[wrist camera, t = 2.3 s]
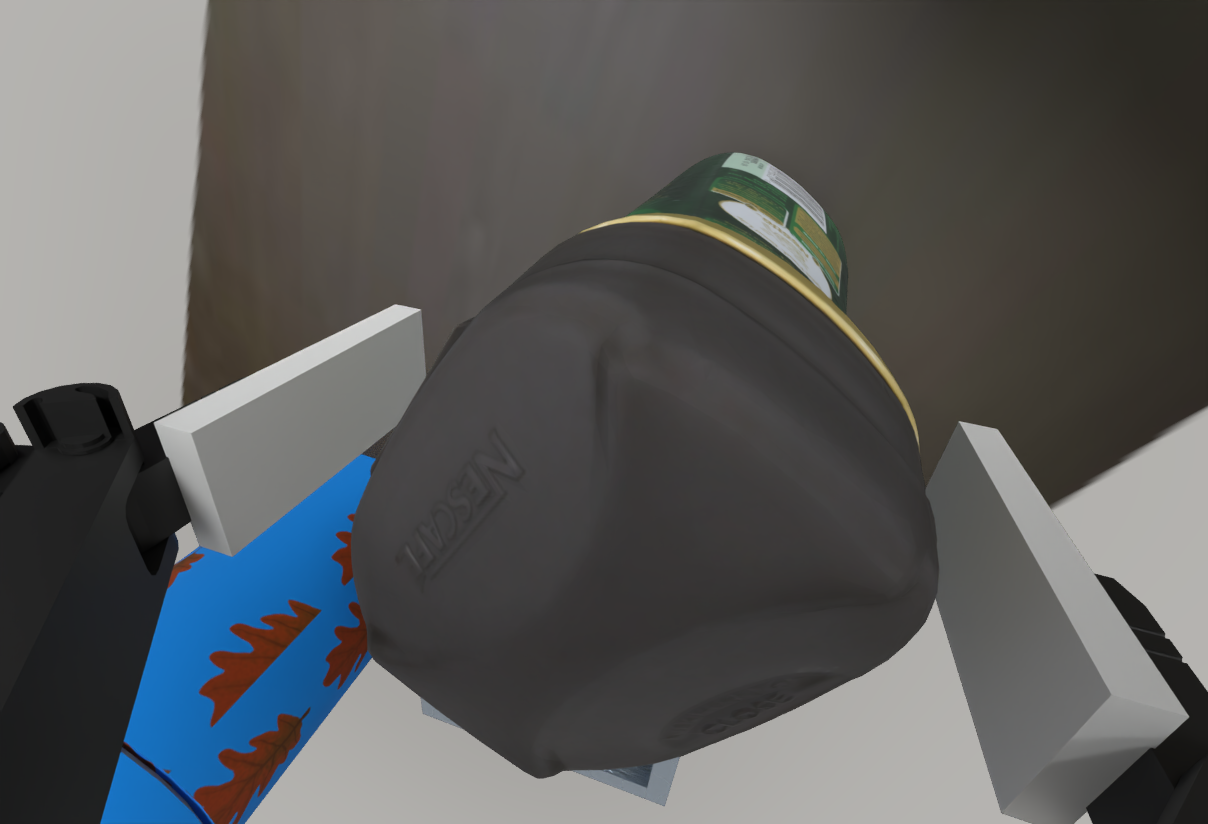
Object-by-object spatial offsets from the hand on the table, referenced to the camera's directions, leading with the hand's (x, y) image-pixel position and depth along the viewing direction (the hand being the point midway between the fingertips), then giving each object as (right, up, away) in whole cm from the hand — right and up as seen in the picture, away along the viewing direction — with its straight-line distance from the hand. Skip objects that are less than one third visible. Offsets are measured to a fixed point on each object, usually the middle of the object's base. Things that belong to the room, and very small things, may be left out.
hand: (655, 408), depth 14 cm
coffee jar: (+3, +5, +9) cm, 11 cm away
